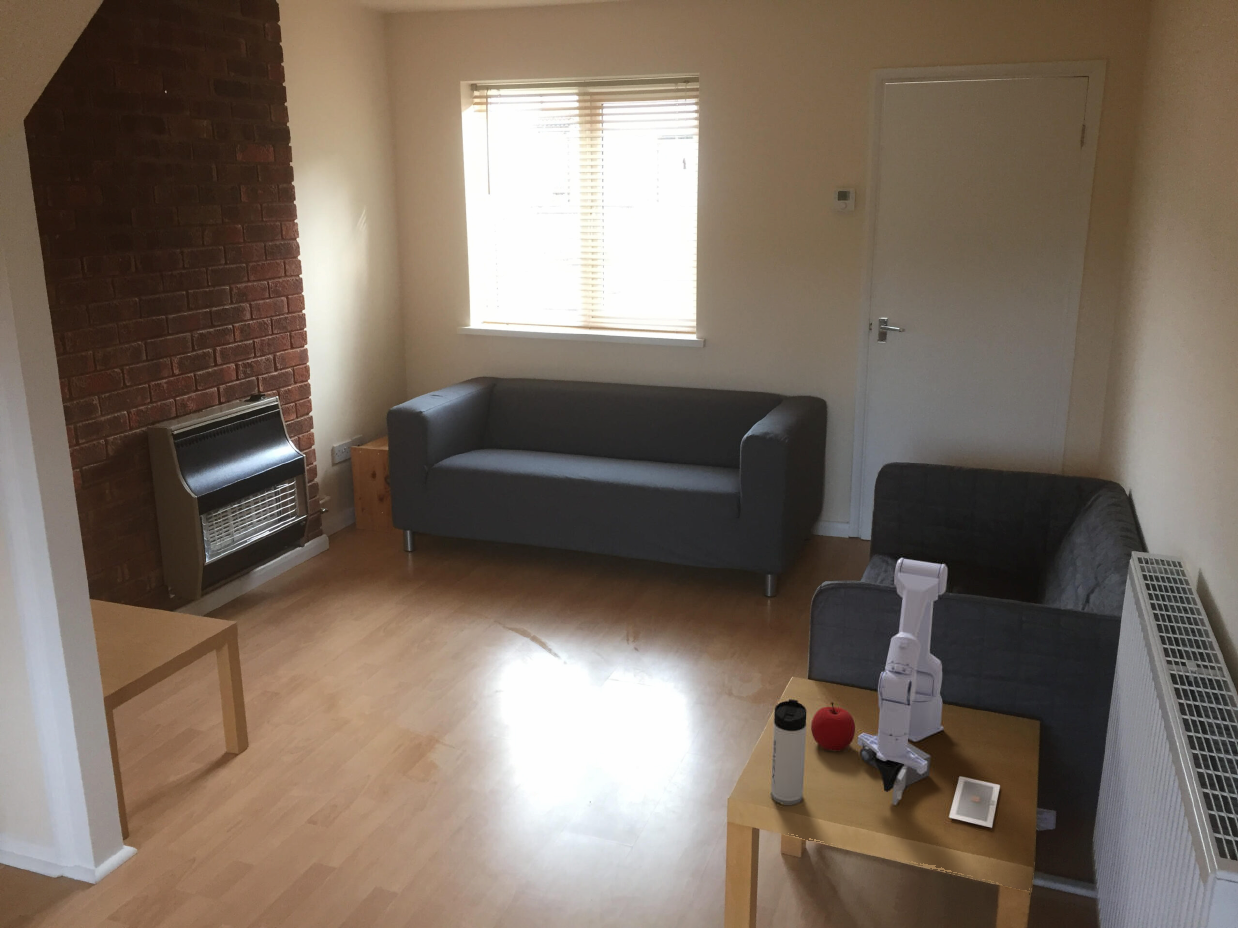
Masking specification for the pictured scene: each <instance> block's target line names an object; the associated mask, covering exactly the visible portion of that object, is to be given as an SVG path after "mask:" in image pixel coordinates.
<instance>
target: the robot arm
mask: <svg viewBox="0 0 1238 928" xmlns="http://www.w3.org/2000/svg"><path fill="white" fill-rule="evenodd" d="M893 579H894V581H893V582H894V586H895V587H896V593H897V594H898V595H899V596H900V597H901V598H902V602H901V609H900V610H901V611H900V619H899V628H898V633H897V634H895V635H894V636H892V637H891V639H890V644H889V649H888V653H887V658H886V661H885V662H886V663H885V668H884V671H881V673H880V676H879V680H878V685H877V686H878V687H877V697H878V708H879V718H878V732H877V734H878V737H876V736H874V735H872V734H867V733H865V732H862V733H861V734H859V735H858V736H857V745H858V746H860V747H863V745H864V746H866V747H868V748H871V749H872V750H873V751H874V752H876V753H877V758H875V764H876V765H877V767H878V769H879V770H878V769H877V770H878V771H879V774H880V775H881V780H882V784H883V790H884V792H886V793H889V792H890V791H891V790H893V788H894V784H895V782H896V781H895V780H896V777H897V775H898V773H899V772H900V770H901V769H902V767H903V766H904V764H905V765H907V766H909V767H911V768H913V769H916V770H917V773H919V774H922V773H924V772H925V771H927V763H928V762H927V761H925V760H923V759H921V758H920V757H919V756H917V755H916V754H915V753H914V752H912V751H911V750H910V749H909V748H907V746H908V743H909V740H910V741H912V742H914V743H915V742H918V741H922V740H923V739H925V738H927V737H930V736H932V735H934V734H937V733H938V732H941V731H943V730H944V727H943V726H942V725H941V723H942V711H943V699H942V696H941V694H940V693H941V688H942V682H943V671H942V670H943V664H942V661H941V660H940V659H938V658H937V657H936V656H934V655H933V654H932V653H931V651H930V650H931V638H932V624H933V612H934V611H933V609H934V601H937V600H939V596H941V595H943V594H944V593H945V592H946V591H947V582H948V581H947V580H948V567H947V565H946V564H945V563H942V564H941V563H934V562H929V561H922V560H914V559H908V558H904V557H901V558H899V559H897V562H896V565H895V570H894V578H893Z"/></svg>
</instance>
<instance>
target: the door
mask: <svg viewBox="0 0 1238 928" xmlns="http://www.w3.org/2000/svg"><path fill="white" fill-rule="evenodd" d="M906 780H907V767H905V766H904V767H902V770H901V772H900V774H899V776H898V778H897V780H896V781H895V782H894V786H893V788H892V791H893V792H892V802H891V804H893V805H895V806H897V804H898V803H899V801H900V800H901V799H902V796H903V792H904V790H906V789H907V786H906Z"/></svg>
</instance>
